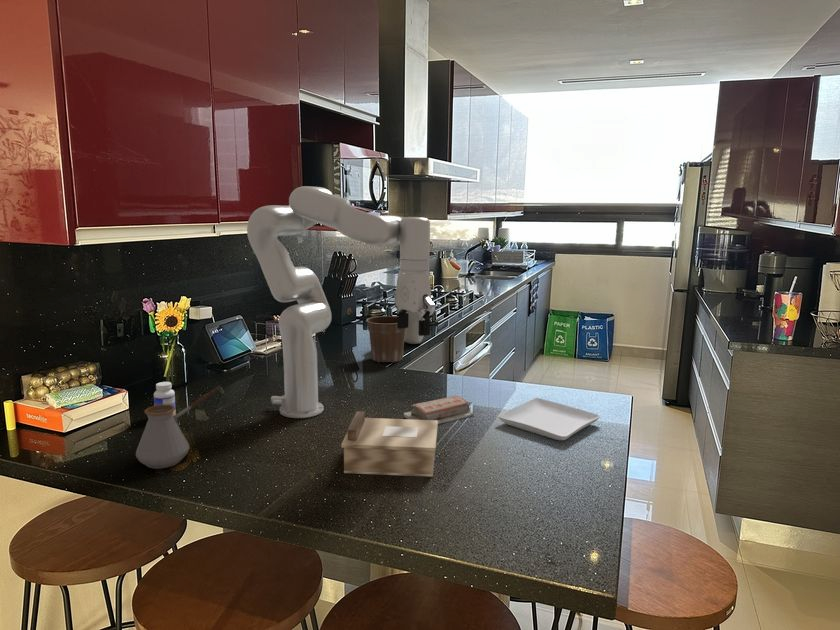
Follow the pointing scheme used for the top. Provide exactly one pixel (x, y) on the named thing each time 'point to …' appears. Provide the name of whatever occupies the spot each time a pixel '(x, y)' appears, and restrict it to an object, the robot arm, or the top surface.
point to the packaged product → (440, 410)
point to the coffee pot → (164, 436)
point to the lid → (391, 434)
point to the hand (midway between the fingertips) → (413, 331)
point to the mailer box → (388, 462)
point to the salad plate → (548, 418)
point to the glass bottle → (413, 329)
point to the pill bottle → (164, 395)
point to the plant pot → (386, 339)
